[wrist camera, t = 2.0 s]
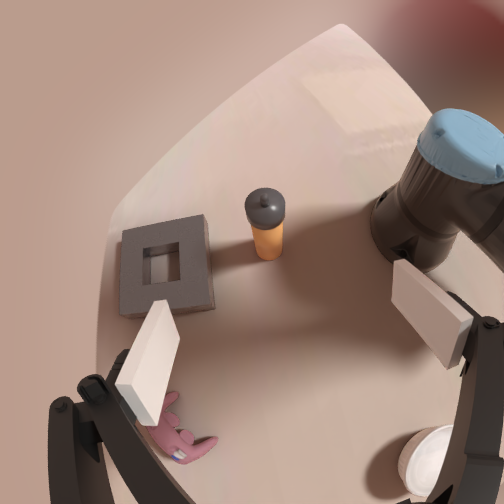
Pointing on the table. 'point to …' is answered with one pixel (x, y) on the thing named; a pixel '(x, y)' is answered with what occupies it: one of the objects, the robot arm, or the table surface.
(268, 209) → the orange lidded canister
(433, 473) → the ramekin
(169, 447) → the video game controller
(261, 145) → the table surface
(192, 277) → the grey square socket block
